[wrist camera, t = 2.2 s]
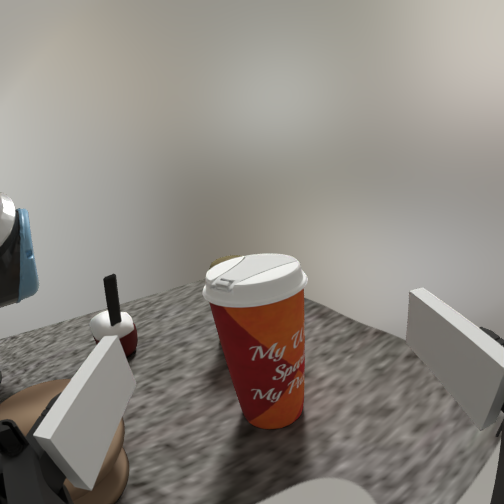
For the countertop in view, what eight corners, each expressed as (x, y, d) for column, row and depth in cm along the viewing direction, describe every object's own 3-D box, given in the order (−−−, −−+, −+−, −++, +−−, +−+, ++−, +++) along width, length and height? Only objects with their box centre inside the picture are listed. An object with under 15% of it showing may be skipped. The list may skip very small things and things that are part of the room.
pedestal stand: (0, 449, 18) (-28, 410, 16) (104, 401, 28) (85, 362, 26) (34, 558, 7) (-14, 523, 6) (180, 485, 17) (156, 444, 16)
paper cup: (283, 451, 20) (261, 295, 17) (215, 416, 25) (177, 278, 22) (330, 395, 26) (325, 254, 22) (266, 374, 31) (247, 248, 27)
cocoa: (102, 347, 41) (74, 273, 38) (139, 335, 43) (114, 260, 41) (104, 377, 32) (68, 288, 30) (149, 362, 35) (117, 273, 32)
